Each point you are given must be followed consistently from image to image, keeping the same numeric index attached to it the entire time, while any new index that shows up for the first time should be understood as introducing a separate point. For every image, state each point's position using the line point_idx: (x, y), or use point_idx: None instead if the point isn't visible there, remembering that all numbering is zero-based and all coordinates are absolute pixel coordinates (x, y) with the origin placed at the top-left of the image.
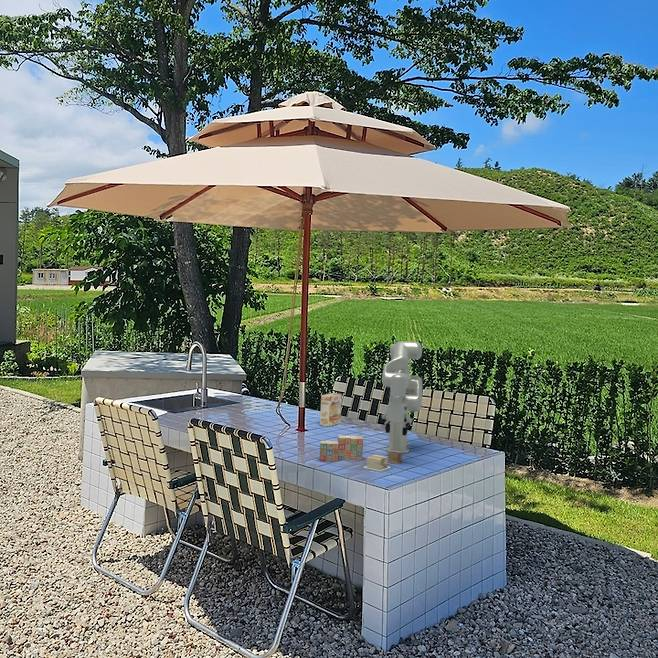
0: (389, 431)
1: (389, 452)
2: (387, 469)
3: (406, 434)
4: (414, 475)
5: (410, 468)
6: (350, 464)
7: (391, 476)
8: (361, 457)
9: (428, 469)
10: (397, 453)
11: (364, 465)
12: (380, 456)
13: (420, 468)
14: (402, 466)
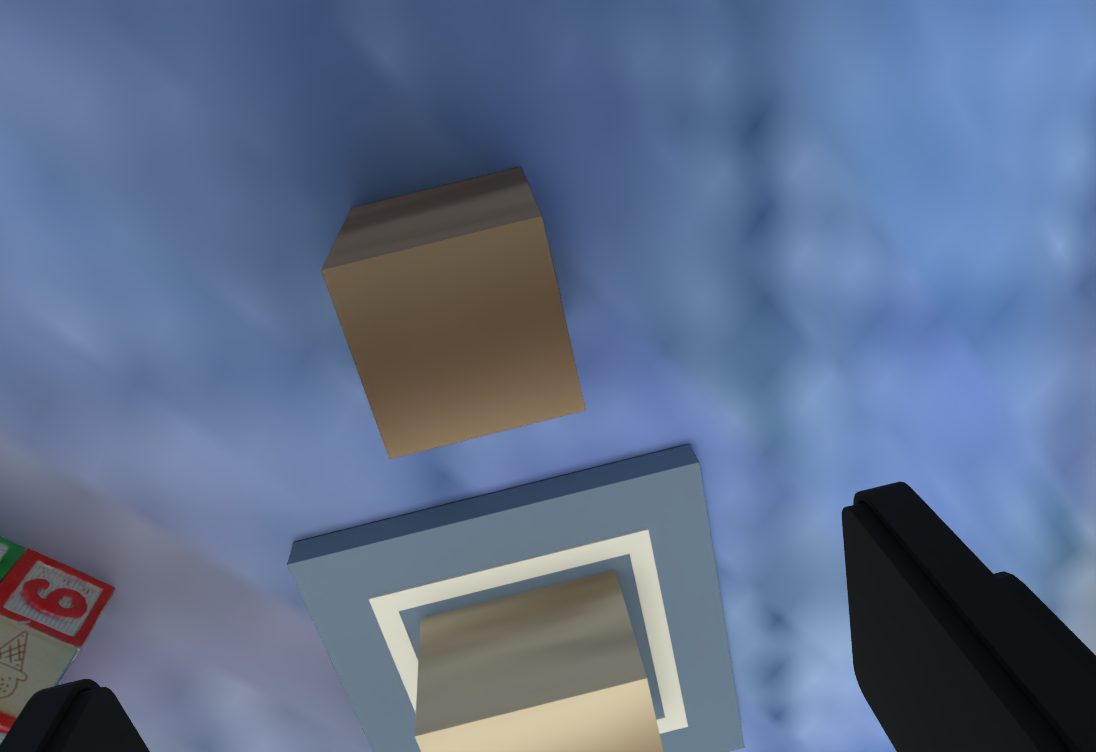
0: (111, 721)
1: (378, 425)
2: (693, 624)
3: (901, 492)
4: (1007, 436)
5: (770, 225)
6: (157, 748)
7: (834, 667)
8: (81, 648)
9: (1010, 4)
10: (528, 345)
11: (384, 733)
12: (552, 735)
13: (880, 77)
14: (614, 246)
